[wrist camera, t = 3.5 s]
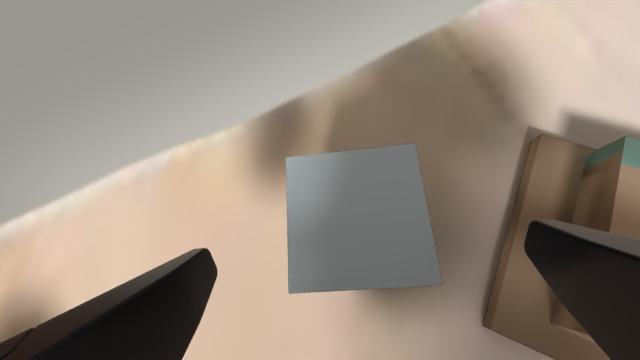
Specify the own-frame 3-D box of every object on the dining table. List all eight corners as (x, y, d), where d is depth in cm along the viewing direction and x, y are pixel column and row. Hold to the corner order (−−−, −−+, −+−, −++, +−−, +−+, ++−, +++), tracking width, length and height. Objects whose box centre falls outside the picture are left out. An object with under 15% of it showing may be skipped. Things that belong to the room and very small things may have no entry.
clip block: (398, 276, 16) (442, 285, 8) (324, 280, 17) (288, 293, 8) (387, 203, 18) (415, 143, 9) (319, 209, 18) (285, 157, 10)
